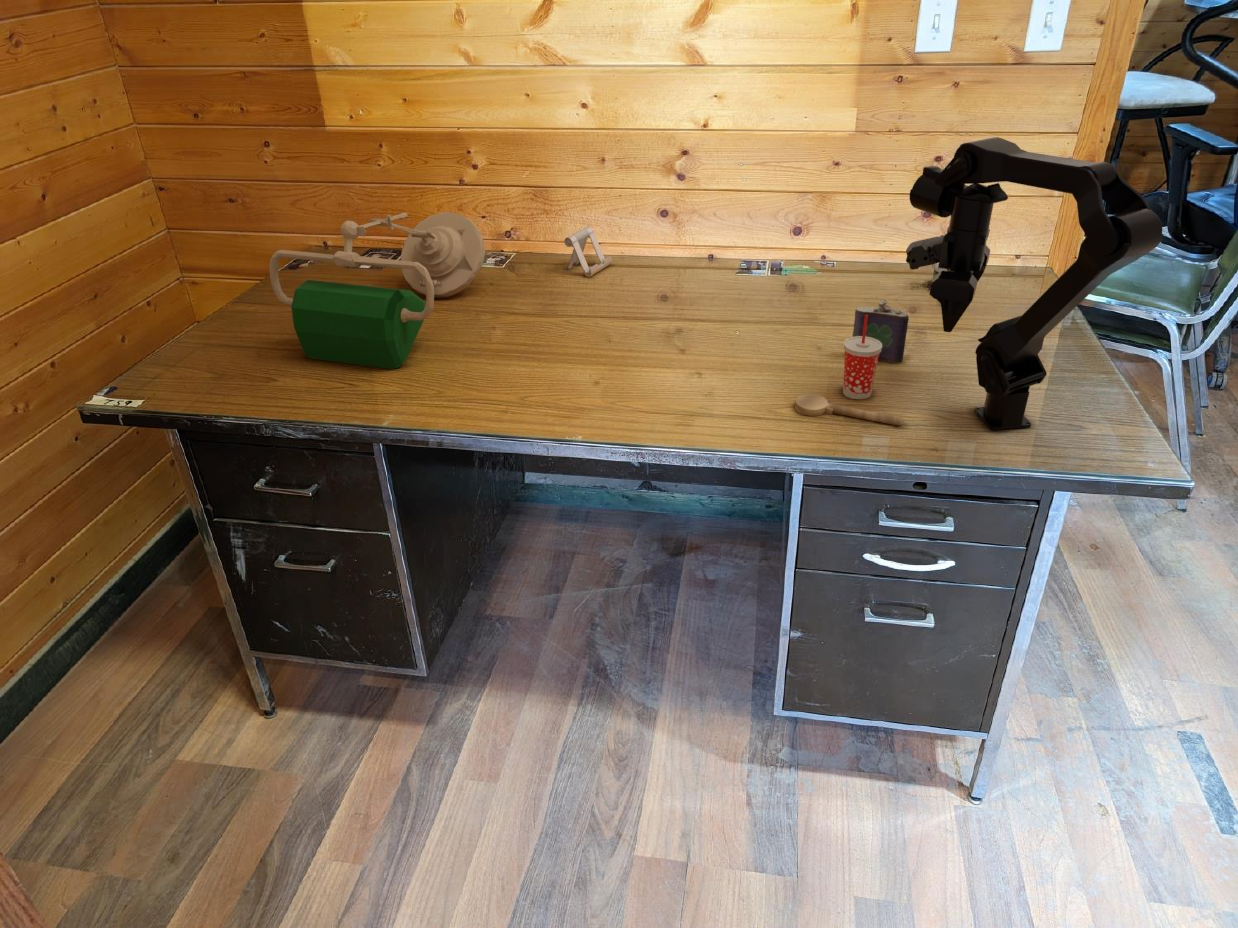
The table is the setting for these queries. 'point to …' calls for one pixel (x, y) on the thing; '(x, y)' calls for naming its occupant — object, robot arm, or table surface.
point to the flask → (884, 329)
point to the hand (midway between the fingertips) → (952, 320)
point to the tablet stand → (578, 244)
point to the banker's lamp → (382, 291)
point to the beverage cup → (860, 364)
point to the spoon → (839, 410)
